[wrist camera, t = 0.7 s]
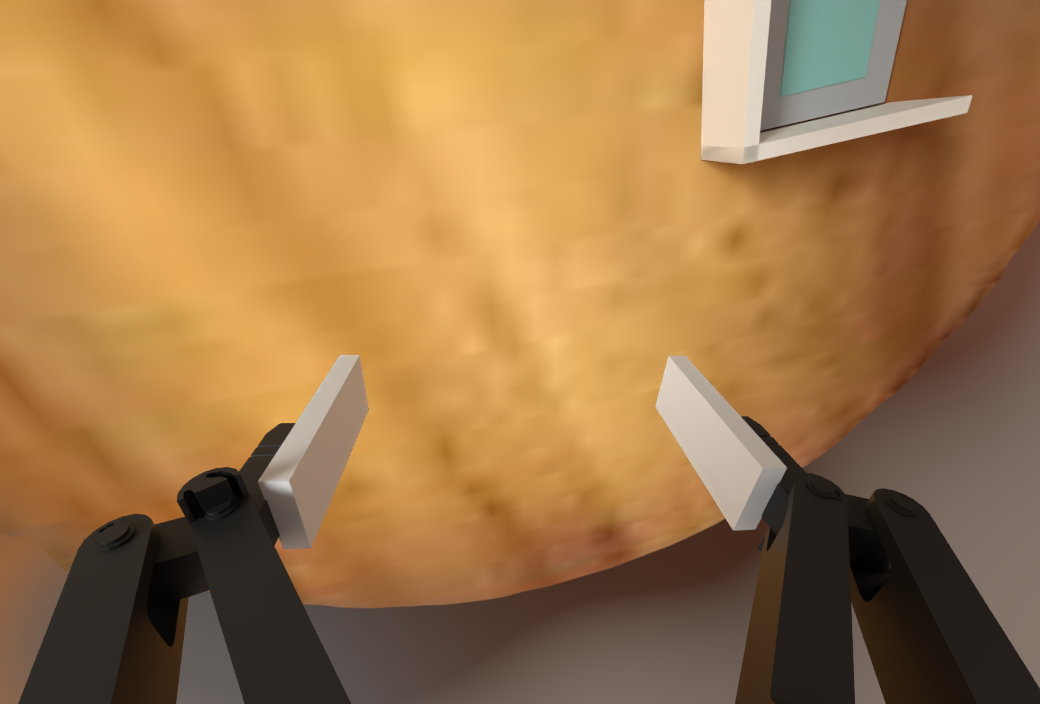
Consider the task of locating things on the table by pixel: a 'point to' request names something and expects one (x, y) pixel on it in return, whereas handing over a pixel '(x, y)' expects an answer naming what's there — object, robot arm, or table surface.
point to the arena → (740, 84)
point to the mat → (828, 57)
